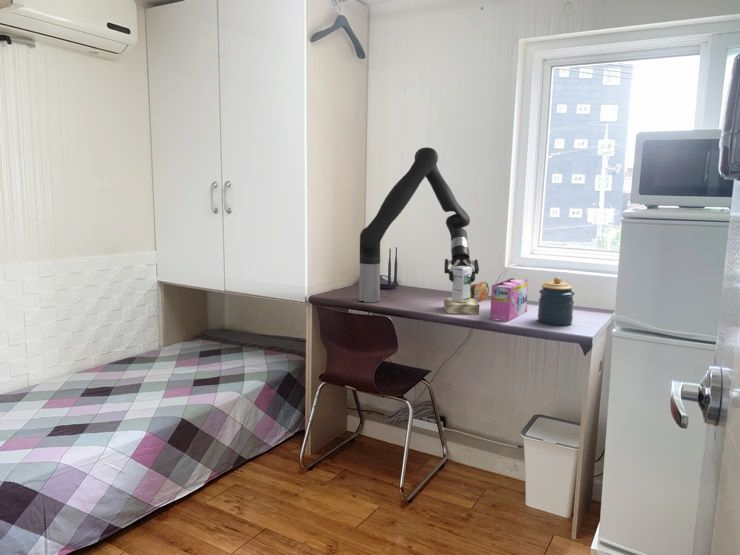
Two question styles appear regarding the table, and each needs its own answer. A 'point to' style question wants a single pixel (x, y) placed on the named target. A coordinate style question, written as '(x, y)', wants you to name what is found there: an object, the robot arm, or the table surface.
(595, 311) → the table surface
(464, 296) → the syrup box
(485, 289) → the tin
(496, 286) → the gum box
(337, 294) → the table surface
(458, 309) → the birch plinth
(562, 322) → the canister
